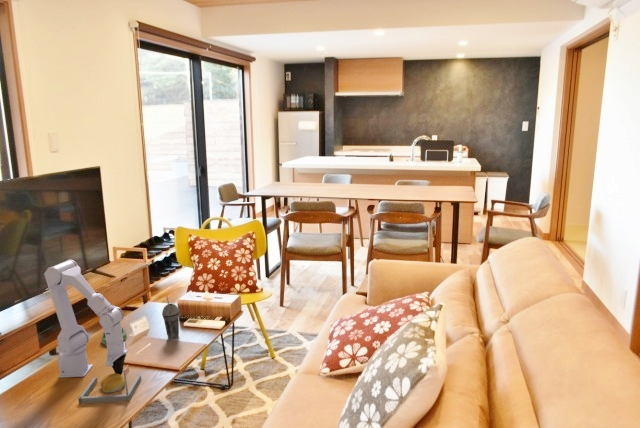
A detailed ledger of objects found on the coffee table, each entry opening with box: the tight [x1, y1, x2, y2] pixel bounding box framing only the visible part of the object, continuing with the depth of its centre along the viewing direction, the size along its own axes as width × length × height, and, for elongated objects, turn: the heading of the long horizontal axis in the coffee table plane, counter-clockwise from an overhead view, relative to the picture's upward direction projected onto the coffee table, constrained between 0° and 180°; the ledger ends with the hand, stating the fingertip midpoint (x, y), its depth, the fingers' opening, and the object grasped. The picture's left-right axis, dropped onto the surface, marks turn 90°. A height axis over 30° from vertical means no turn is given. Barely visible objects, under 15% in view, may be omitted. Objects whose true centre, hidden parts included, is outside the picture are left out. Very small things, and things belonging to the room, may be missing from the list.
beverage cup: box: [161, 295, 180, 341], centre depth 207 cm, size 7×7×20 cm
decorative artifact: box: [101, 327, 128, 346], centre depth 208 cm, size 10×7×10 cm
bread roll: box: [100, 372, 125, 394], centre depth 173 cm, size 8×9×4 cm
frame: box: [78, 364, 142, 405], centre depth 169 cm, size 17×13×12 cm
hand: (119, 373), depth 178 cm, fingers closed
